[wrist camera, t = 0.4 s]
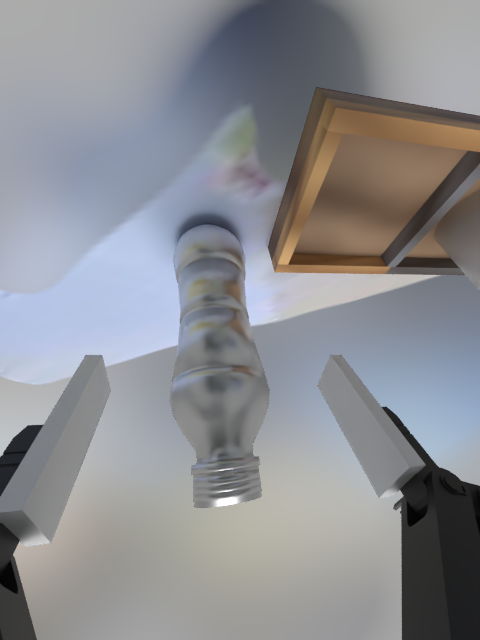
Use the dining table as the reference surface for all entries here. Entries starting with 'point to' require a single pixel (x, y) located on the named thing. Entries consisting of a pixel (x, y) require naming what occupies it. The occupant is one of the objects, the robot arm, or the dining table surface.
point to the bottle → (463, 236)
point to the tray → (374, 187)
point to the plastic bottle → (217, 368)
